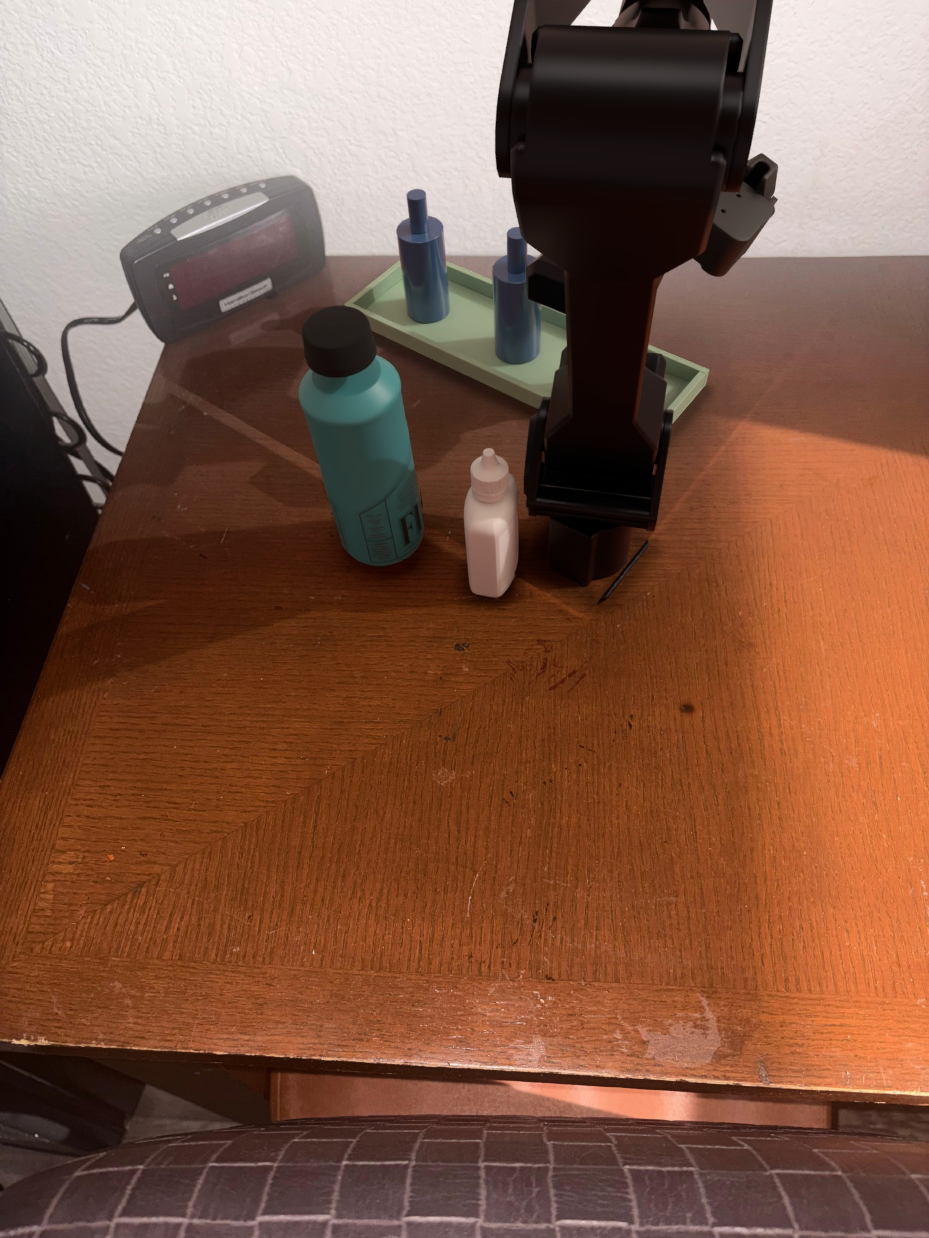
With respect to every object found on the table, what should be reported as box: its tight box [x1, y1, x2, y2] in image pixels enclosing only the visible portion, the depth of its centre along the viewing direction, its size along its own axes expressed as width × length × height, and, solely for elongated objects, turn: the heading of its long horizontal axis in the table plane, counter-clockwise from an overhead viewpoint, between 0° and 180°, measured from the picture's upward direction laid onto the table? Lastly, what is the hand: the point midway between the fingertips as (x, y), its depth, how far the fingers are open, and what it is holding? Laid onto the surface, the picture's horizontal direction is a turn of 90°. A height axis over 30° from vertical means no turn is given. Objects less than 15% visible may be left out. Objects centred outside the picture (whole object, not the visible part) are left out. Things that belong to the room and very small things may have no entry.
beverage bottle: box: [297, 305, 426, 567], centre depth 55 cm, size 6×7×20 cm
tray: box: [343, 259, 710, 425], centre depth 74 cm, size 10×31×2 cm, turn 53°
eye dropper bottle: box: [463, 447, 520, 598], centre depth 57 cm, size 4×6×12 cm
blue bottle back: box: [395, 188, 450, 324], centre depth 73 cm, size 4×4×11 cm
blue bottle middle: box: [491, 226, 541, 364], centre depth 69 cm, size 4×4×11 cm
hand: (623, 329), depth 65 cm, fingers closed on blue bottle front, 4 cm apart
